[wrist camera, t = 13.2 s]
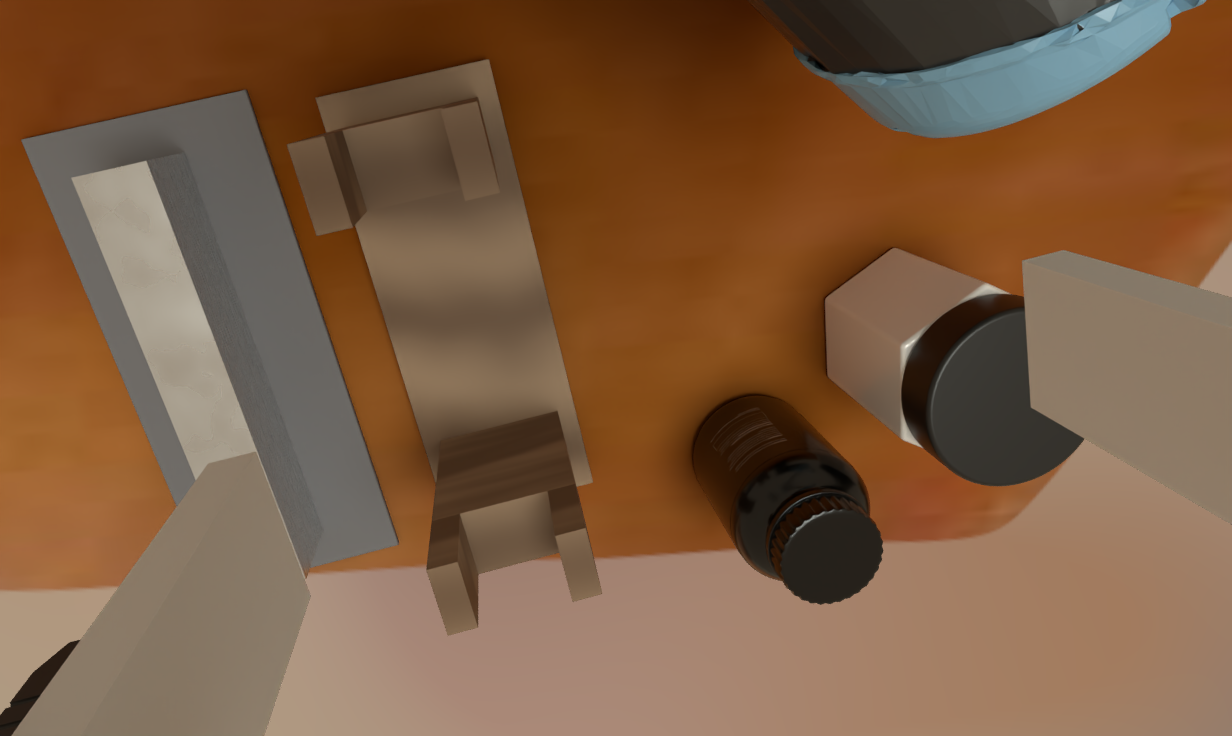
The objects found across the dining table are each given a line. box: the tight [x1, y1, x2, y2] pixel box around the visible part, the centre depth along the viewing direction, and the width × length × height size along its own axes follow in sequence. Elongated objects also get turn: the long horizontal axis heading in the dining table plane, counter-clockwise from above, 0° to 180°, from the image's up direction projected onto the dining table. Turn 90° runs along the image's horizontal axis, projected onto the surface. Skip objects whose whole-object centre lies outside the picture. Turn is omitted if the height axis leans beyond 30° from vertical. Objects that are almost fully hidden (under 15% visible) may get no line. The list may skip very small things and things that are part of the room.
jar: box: [825, 248, 1084, 486], centre depth 43 cm, size 9×8×12 cm
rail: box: [71, 152, 323, 579], centre depth 41 cm, size 20×3×5 cm, turn 12°
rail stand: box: [287, 59, 602, 635], centre depth 38 cm, size 22×8×14 cm, turn 12°
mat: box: [21, 90, 399, 568], centre depth 44 cm, size 24×10×1 cm, turn 12°
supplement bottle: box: [693, 396, 883, 605], centre depth 44 cm, size 7×7×12 cm
